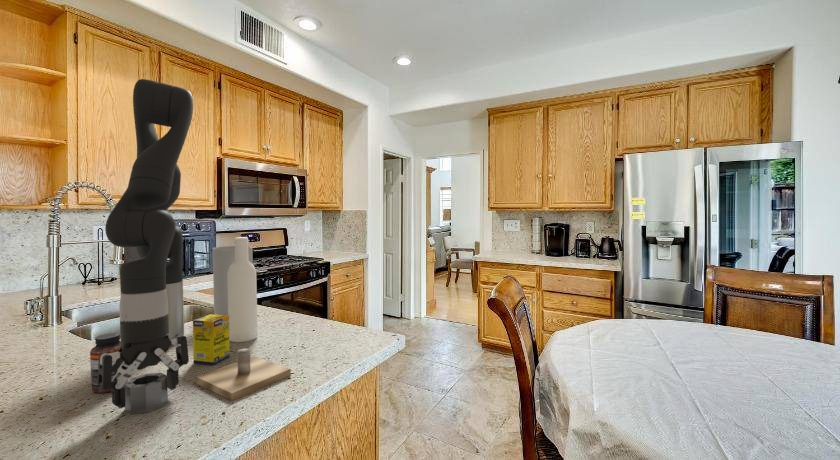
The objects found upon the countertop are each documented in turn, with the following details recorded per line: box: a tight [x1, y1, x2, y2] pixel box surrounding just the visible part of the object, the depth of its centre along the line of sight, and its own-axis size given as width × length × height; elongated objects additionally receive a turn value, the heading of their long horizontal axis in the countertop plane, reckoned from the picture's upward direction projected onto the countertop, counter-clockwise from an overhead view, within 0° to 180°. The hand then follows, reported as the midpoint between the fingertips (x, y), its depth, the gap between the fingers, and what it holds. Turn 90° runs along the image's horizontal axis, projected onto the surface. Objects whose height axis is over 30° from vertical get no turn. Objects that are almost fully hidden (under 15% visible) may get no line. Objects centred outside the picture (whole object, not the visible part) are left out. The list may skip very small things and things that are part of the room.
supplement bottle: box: [89, 332, 129, 394], centre depth 80 cm, size 6×6×11 cm
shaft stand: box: [195, 348, 292, 401], centre depth 84 cm, size 14×14×6 cm
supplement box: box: [192, 313, 231, 366], centre depth 95 cm, size 6×6×11 cm
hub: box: [123, 372, 169, 415], centre depth 73 cm, size 6×6×5 cm
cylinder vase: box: [212, 245, 254, 315], centre depth 133 cm, size 12×12×25 cm
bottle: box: [227, 236, 259, 343], centre depth 111 cm, size 8×8×30 cm
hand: (147, 397), depth 73 cm, fingers open, 8 cm apart
